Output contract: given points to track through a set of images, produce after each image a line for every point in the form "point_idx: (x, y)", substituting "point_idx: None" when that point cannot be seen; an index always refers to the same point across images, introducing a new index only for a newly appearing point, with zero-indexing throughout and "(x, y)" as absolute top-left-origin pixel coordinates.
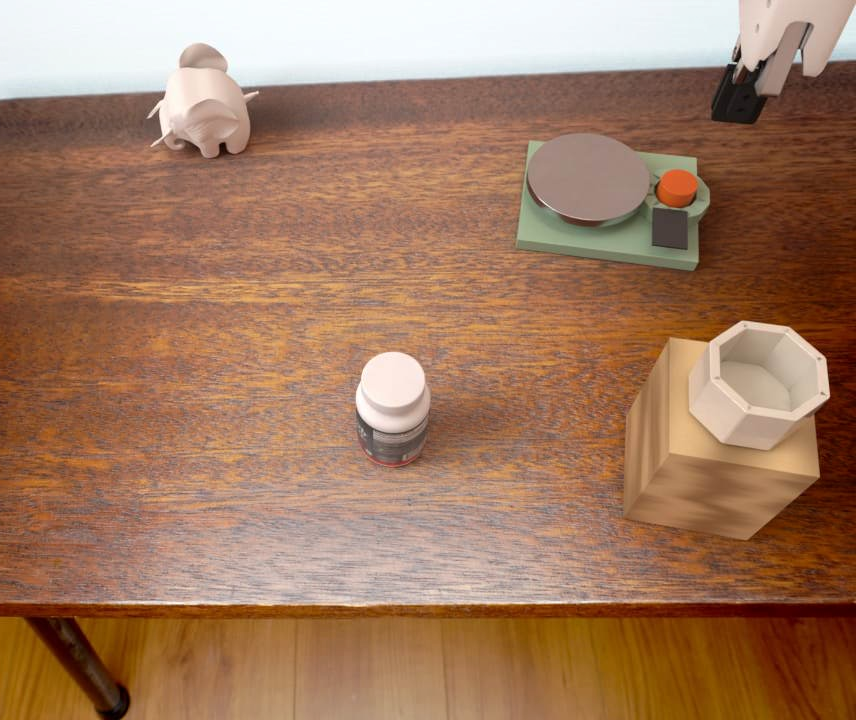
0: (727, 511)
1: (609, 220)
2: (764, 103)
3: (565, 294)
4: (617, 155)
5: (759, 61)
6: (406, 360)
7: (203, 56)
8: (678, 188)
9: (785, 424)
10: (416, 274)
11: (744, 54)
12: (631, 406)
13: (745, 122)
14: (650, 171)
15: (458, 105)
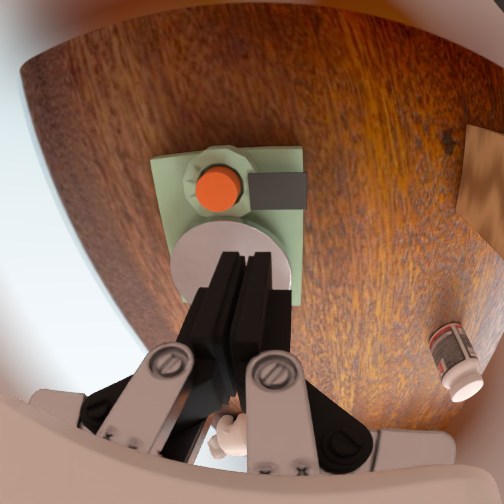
0: None
1: (286, 256)
2: (265, 287)
3: (346, 258)
4: (192, 253)
5: (207, 391)
6: (460, 391)
7: (214, 450)
8: (226, 193)
9: None
10: (332, 347)
11: None
12: (463, 218)
13: (271, 267)
14: (183, 203)
15: (161, 335)
